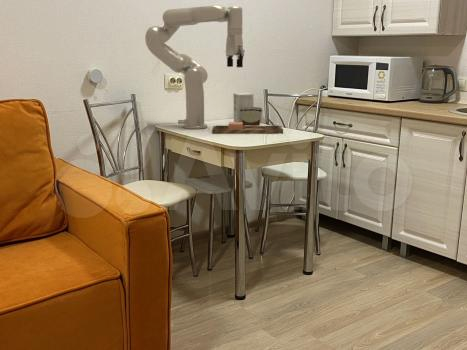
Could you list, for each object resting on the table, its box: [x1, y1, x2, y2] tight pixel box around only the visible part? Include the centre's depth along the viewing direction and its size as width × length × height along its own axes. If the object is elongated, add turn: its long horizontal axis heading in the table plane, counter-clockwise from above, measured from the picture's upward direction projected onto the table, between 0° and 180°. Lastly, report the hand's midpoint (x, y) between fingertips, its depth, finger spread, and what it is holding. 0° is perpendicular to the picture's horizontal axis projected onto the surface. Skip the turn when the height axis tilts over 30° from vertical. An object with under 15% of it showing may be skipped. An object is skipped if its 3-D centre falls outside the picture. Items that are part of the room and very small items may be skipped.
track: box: [211, 125, 284, 135], centre depth 261 cm, size 35×12×2 cm, turn 90°
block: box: [227, 121, 243, 129], centre depth 261 cm, size 7×7×4 cm
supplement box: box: [232, 92, 255, 122], centre depth 287 cm, size 10×9×17 cm
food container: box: [240, 106, 263, 126], centre depth 279 cm, size 12×6×10 cm, turn 84°
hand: (234, 67), depth 263 cm, fingers open, 9 cm apart
